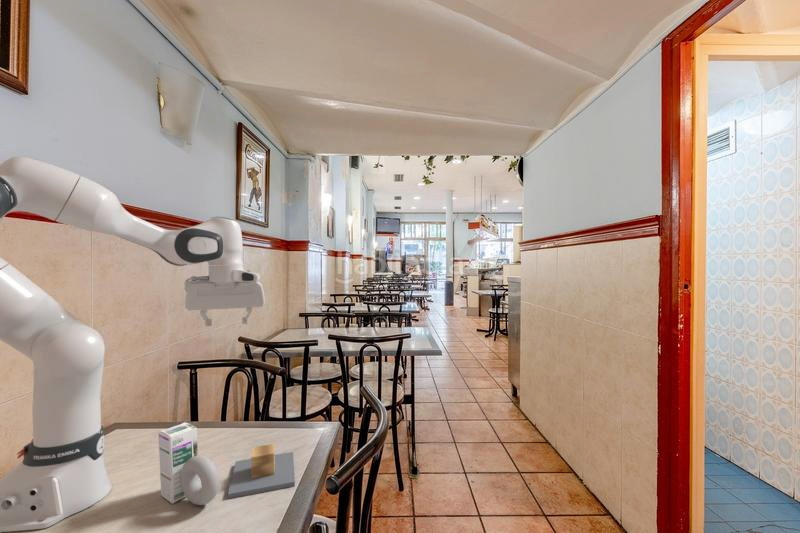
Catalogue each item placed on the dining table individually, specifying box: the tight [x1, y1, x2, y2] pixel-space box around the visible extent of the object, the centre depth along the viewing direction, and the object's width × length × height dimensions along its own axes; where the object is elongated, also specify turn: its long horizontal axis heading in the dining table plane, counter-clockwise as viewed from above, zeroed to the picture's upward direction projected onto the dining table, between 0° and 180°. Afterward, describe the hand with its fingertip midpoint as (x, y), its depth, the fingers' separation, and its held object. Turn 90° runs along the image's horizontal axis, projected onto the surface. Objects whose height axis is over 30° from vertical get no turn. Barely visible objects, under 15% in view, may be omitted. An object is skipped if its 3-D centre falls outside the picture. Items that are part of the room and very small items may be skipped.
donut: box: [180, 454, 220, 506], centre depth 78 cm, size 10×4×10 cm, turn 66°
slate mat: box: [227, 451, 296, 499], centre depth 89 cm, size 14×14×1 cm
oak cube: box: [250, 443, 276, 478], centre depth 89 cm, size 5×5×5 cm
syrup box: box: [158, 421, 200, 504], centre depth 82 cm, size 6×6×14 cm
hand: (227, 324), depth 103 cm, fingers open, 8 cm apart
